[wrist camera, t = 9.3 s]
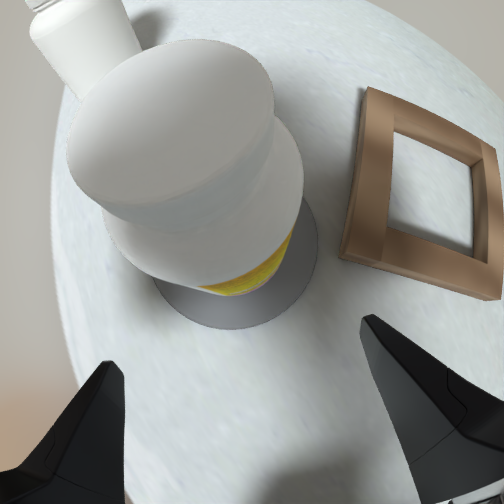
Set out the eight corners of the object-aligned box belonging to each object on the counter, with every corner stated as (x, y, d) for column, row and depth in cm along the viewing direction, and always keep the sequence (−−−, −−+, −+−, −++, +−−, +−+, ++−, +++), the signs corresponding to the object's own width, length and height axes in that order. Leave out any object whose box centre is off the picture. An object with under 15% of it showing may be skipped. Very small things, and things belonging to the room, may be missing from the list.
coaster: (338, 297, 17) (341, 297, 16) (174, 347, 17) (171, 348, 16) (283, 149, 19) (283, 144, 19) (138, 195, 19) (135, 192, 18)
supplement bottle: (297, 210, 18) (350, 42, 5) (265, 311, 16) (271, 330, 4) (200, 181, 18) (124, 23, 6) (164, 275, 17) (1, 213, 5)
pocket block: (485, 301, 16) (500, 299, 14) (338, 257, 18) (346, 251, 16) (484, 157, 19) (495, 148, 17) (361, 101, 20) (367, 86, 18)
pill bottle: (122, 114, 21) (42, -10, 6) (69, 110, 21) (-5, 20, 7) (164, 57, 22) (121, -59, 7) (109, 58, 23) (59, -32, 8)
